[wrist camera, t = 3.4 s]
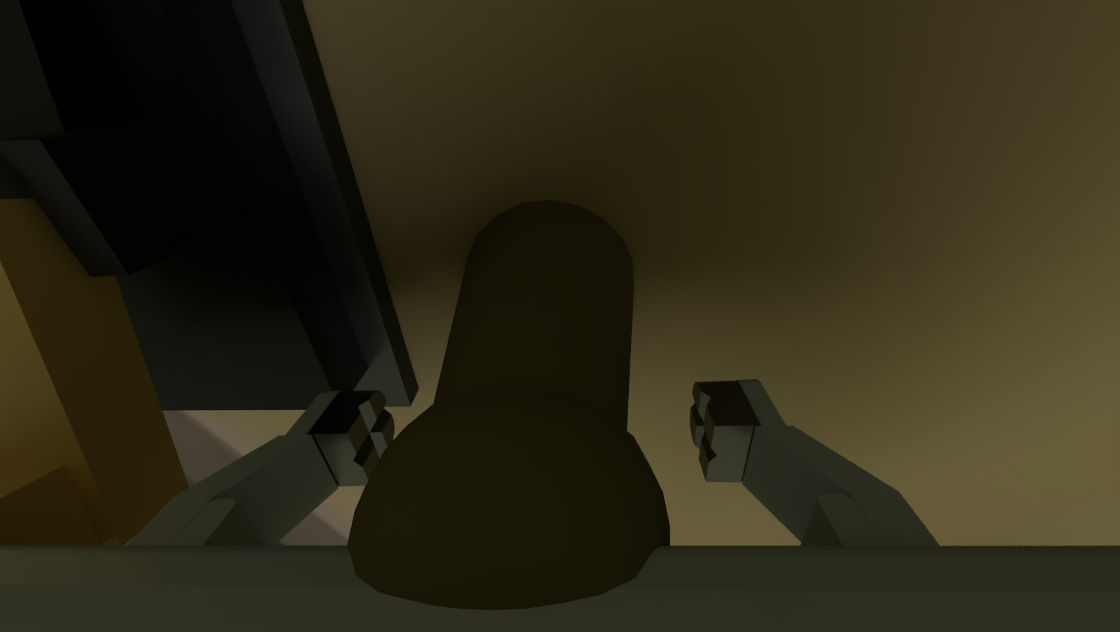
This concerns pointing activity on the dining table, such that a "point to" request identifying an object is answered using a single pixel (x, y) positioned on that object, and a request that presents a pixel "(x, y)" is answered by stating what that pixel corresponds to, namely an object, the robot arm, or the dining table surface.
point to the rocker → (66, 361)
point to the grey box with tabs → (213, 199)
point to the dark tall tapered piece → (521, 433)
